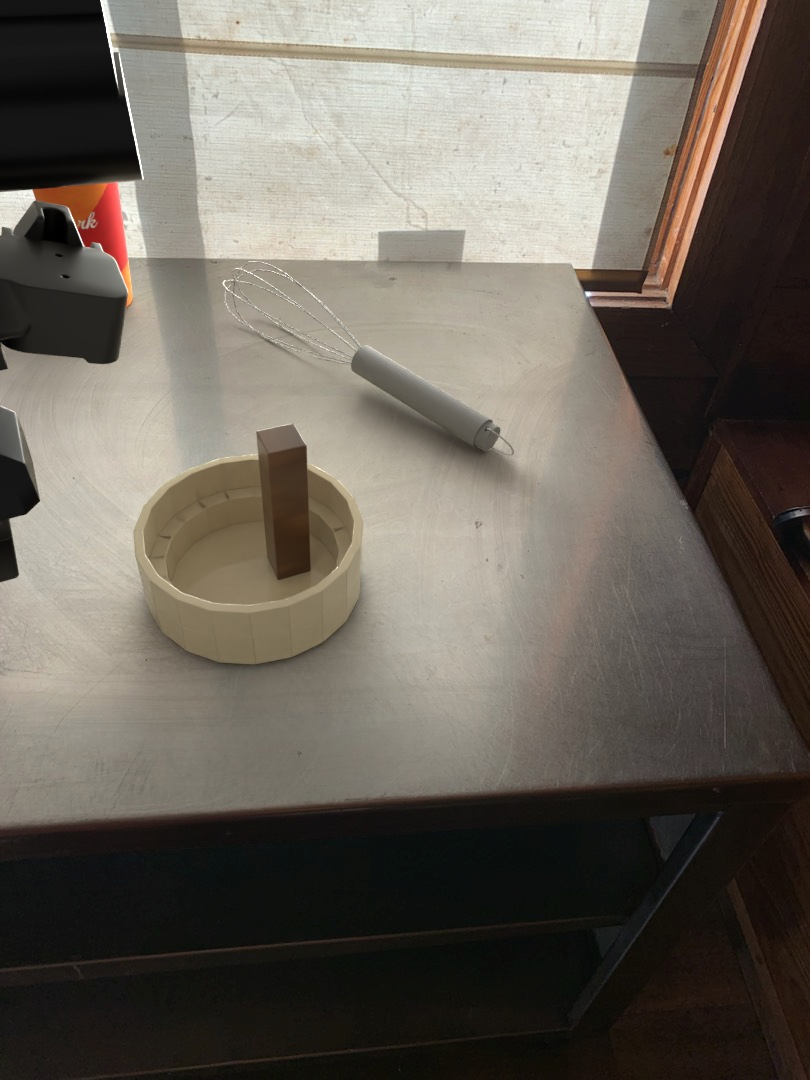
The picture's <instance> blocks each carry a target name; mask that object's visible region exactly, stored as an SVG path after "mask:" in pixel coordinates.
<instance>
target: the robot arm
mask: <svg viewBox="0 0 810 1080" xmlns="http://www.w3.org/2000/svg"><path fill="white" fill-rule="evenodd" d="M142 168H143V167H142V164H141V158H140V153H139V147H138V142H137V137H136V132H135V127H134V122H133V116H132V112H131V107H130V102H129V97H128V91H127V87H126V81H125V77H124V72H123V66H122V61H121V56H120V51H114V50H113V45H112V40H111V35H110V31H109V26H108V20H107V17H106V12H105V9H104V3H103V0H0V193H7V192H20V191H31V190H32V191H33V189H45V188H57V187H70V186H82V185H94V184H106V183H118V184H119V183H131V182H141V181H142V182H143V181H144V175H143V169H142ZM127 299H128V289H127V287H126V284H125V282H124V279H123V277H122V275H121V272H120V270H119V267H118V265H117V262H116V261H115V259H114V258H113V257H112V256H110V255H109V254H107V253H105V252H103V250H102V247H101V245H100V243H94V242H91V248H89V247H84V245H83V243H82V240H81V237H80V235H79V232H78V230H77V228H76V225H75V223H74V220H73V218H72V215H71V213H70V211H69V208H68V207H66V206H63V205H57V204H52V203H47V202H42V201H36V200H33V201H32V203H31V204H30V205H29V207H28V208H27V209H26V211H25V212H24V214H23V215H22V217H21V218H20V219H19V221H18V222H17V224H16V225H15V227H14V228H13V229H12V228H11V227H7V226H1V232H0V372H1V371H5V370H9V366H8V360H7V356H6V354H5V351H4V348H3V346H4V347H6V348H7V349H9V350H12V351H15V352H17V353H18V352H19V353H23V354H31V355H34V354H35V355H43V356H53V357H54V356H55V357H63V358H72V359H73V358H75V359H83V360H84V361H86V363H88V364H91V365H93V364H94V365H109V364H113V363H115V362H117V361H118V360H119V358H120V351H121V345H122V339H123V338H122V337H123V332H124V325H125V318H126V311H127V307H128V306H127ZM126 306H127V307H126ZM22 427H23V426H22V425H21V422H20V419H19V417H18V414H17V412H16V411H14V410H12V409H10V408H8V407H5V406H3V405H0V583H3V582H8V581H11V580H14V579H17V578H18V577H19V576H20V572H19V565H18V559H17V554H16V549H15V548H16V547H15V542H14V537H13V536H14V535H13V530H12V525H11V519H15V518H19V517H21V516H26V515H27V514H29V512H31V511H32V510H33V509H34V508H35V507H36V506H37V505H38V504H39V503H40V502H41V497H40V493H39V487H38V482H37V481H38V480H37V476H36V472H35V471H36V470H35V467H34V461H33V457H32V453H31V451H30V447H29V444H28V441H27V439H26V435H25V432H24V429H23V428H22Z"/></svg>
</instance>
